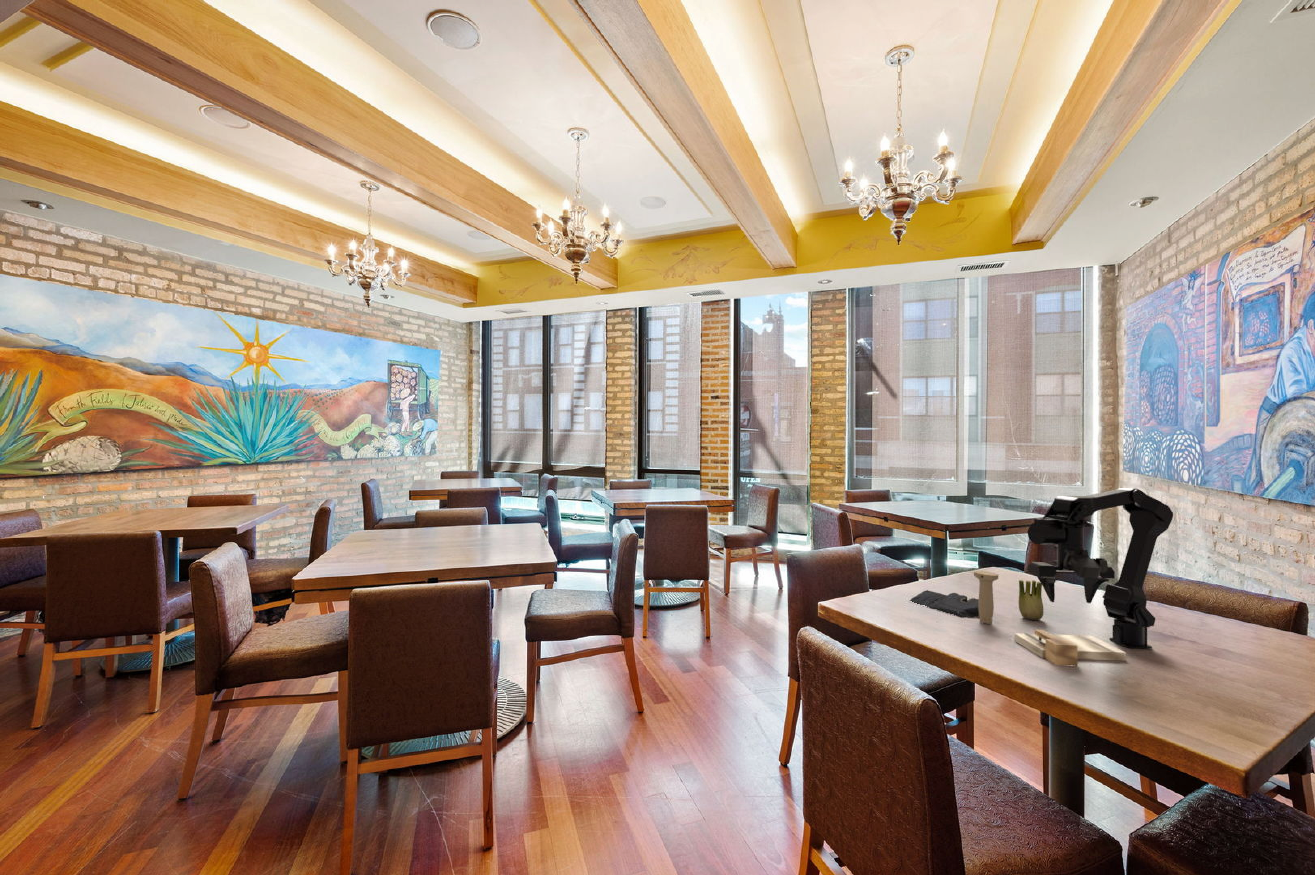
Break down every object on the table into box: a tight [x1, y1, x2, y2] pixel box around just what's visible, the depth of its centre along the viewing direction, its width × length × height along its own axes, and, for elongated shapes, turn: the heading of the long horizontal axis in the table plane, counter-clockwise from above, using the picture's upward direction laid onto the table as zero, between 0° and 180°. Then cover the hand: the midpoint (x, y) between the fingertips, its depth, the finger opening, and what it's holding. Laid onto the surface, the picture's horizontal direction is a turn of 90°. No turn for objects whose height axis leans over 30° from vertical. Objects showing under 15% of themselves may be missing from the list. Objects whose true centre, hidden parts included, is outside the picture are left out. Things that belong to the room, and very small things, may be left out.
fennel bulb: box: [1018, 579, 1045, 621], centre depth 168 cm, size 6×5×12 cm
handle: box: [973, 570, 999, 625], centre depth 165 cm, size 5×6×15 cm
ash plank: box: [1014, 632, 1127, 662], centre depth 143 cm, size 20×12×2 cm, turn 86°
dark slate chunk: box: [909, 589, 980, 619], centre depth 181 cm, size 15×22×5 cm
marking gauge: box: [1034, 629, 1078, 667], centre depth 138 cm, size 5×11×5 cm, turn 176°
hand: (1070, 602), depth 145 cm, fingers open, 9 cm apart
